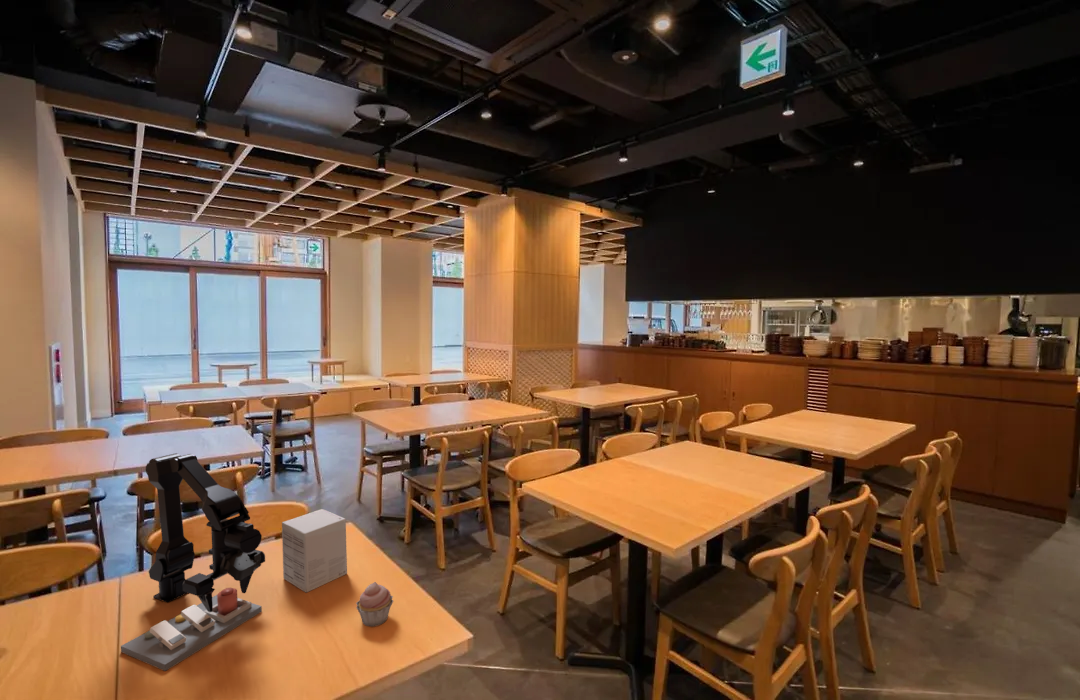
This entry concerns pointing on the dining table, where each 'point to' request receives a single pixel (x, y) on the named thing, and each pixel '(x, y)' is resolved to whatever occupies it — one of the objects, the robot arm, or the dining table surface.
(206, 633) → the panel
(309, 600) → the dining table surface
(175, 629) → the breaker
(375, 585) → the cupcake
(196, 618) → the block
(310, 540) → the supplement box
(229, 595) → the cap
